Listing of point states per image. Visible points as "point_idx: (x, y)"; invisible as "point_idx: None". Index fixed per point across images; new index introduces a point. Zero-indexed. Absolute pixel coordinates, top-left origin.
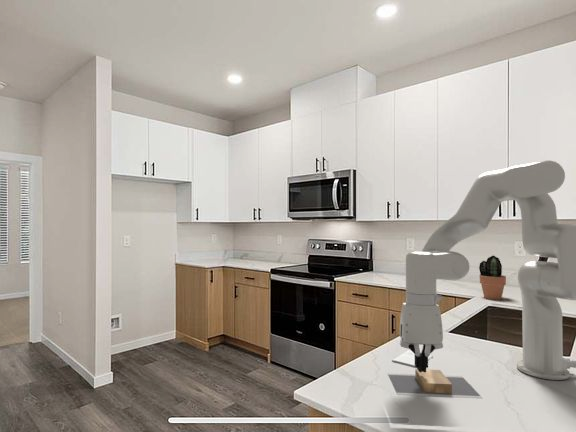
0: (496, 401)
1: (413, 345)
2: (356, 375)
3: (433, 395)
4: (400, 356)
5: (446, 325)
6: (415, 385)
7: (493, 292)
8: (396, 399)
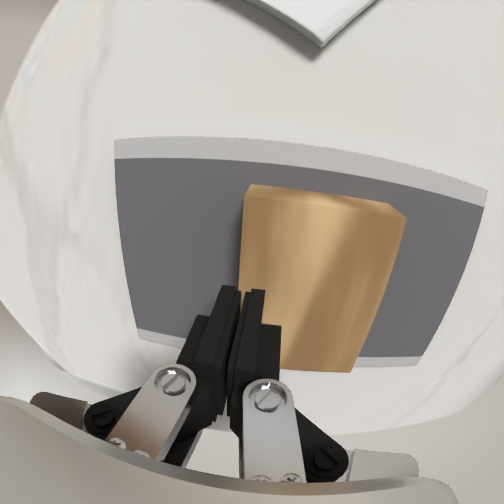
0: (443, 357)
1: (136, 430)
2: (28, 161)
3: None
4: None
5: None
6: (218, 283)
7: None
8: (140, 343)
